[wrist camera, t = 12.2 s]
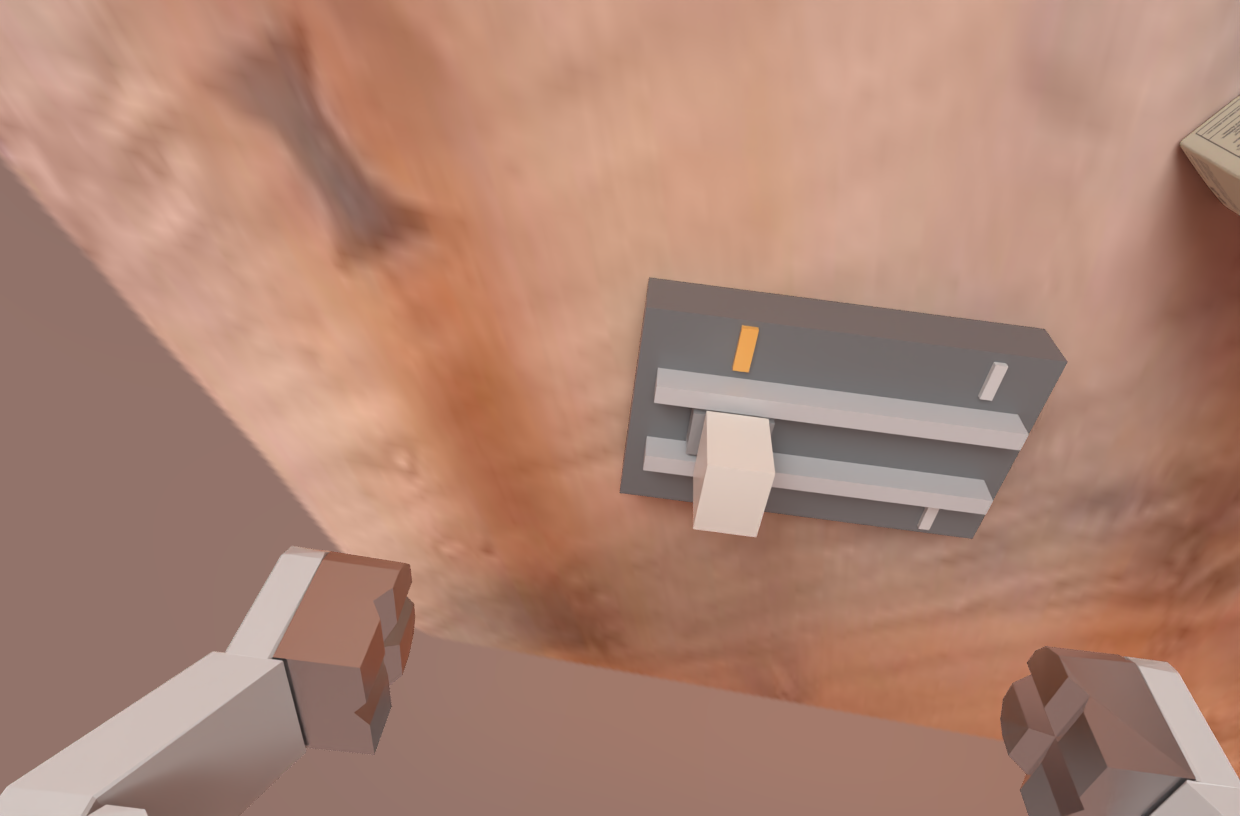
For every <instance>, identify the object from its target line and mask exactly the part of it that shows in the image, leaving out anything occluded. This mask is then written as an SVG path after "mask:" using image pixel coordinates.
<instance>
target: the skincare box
mask: <svg viewBox="0 0 1240 816" xmlns="http://www.w3.org/2000/svg"><path fill="white" fill-rule="evenodd" d="M1180 146H1181V148H1182V150H1183V151H1184V153H1185V154H1186V156H1187V157H1188V159H1189V160H1190V162H1191V163H1192V165H1193V166H1194V167H1195V169H1196V170H1197V172H1198V173H1199V175H1200V176H1201V177H1202V179H1203V180H1204V182H1205V183H1206V184H1207V186H1208V187H1209V188H1210V189H1211V191H1212V192H1213V193H1214V194H1215V196H1216V197H1217V198H1218V199H1219V200H1220V201H1221V203H1222V204H1223V205H1224V206H1226V207H1227V208H1229V209H1230V210H1232V211H1234V212H1235V213H1236V214H1238V215H1239V216H1240V95H1239V96H1238V97H1237V98H1235V99H1234V100H1233V101H1232V102H1230V103H1229V104H1228V105H1227V106H1225V107H1224V108H1223V109H1221V110H1220V111H1219V112H1217V113H1216V114H1215V115H1214V116H1212V117H1211V118H1210V119H1208V120H1207V121H1206V122H1205V123H1203V124H1202V125H1201V126H1200V127H1198V128H1197V129H1196V130H1194V131H1193V132H1192V133H1191V134H1189V135H1188V136H1187V137H1186V138H1184V139H1183V140H1182V141H1181V142H1180Z"/></svg>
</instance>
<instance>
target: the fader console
mask: <svg viewBox="0 0 1240 816" xmlns="http://www.w3.org/2000/svg"><path fill="white" fill-rule="evenodd" d="M1066 364H1067V361H1066V359H1065V358H1064V356H1063V355H1062V353H1061V352H1060V350H1059V349H1058V347H1057V346H1056V345H1055V343H1054V342H1053V340H1052V339H1051V337H1050V336H1049V334H1048V333H1047V332H1046V330H1045V329H1039V328H1032V327H1024V326H1016V325H1009V324H1001V323H993V322H986V321H978V320H970V319H963V318H955V317H947V316H940V315H932V314H924V313H917V312H909V311H901V310H894V309H886V308H878V307H871V306H863V305H855V304H848V303H840V302H832V301H825V300H817V299H809V298H802V297H794V296H786V295H779V294H771V293H763V292H756V291H748V290H740V289H733V288H725V287H717V286H709V285H702V284H694V283H686V282H679V281H671V280H663V279H656V278H649V282H648V289H647V296H646V303H645V311H644V318H643V325H642V332H641V339H640V346H639V353H638V360H637V367H636V375H635V382H634V389H633V396H632V403H631V410H630V417H629V424H628V431H627V438H626V446H625V453H624V460H623V469H622V478H621V486H620V493H625V494H633V495H640V496H648V497H656V498H663V499H671V500H679V501H686V502H693V472H694V467H695V462H696V458H697V455H693V454H686V436H687V431H688V426H689V421H690V416H691V411H692V408H698V409H706V410H713V411H721V412H729V413H736V414H744V415H752V416H759V417H767V418H774V423H775V424H774V428H773V431H772V435H771V443H772V451H773V459H774V468H775V477H774V480H773V483H772V487H771V490H770V493H769V497H768V500H767V503H766V507H765V510H764V512H771V513H778V514H786V515H794V516H801V517H809V518H817V519H824V520H832V521H840V522H847V523H855V524H863V525H871V526H878V527H886V528H894V529H901V530H909V531H917V532H924V533H932V534H940V535H947V536H955V537H963V538H970V539H973V537H974V535H975V533H976V531H977V529H978V527H979V526H980V524H981V522H982V520H983V518H984V516H985V515H986V513H987V511H988V510H989V508H990V506H991V504H992V502H993V500H994V498H995V496H996V494H997V492H998V490H999V488H1000V487H1001V485H1002V483H1003V481H1004V479H1005V477H1006V475H1007V474H1008V472H1009V470H1010V468H1011V466H1012V464H1013V462H1014V461H1015V459H1016V457H1017V455H1018V453H1019V451H1020V450H1021V448H1022V446H1023V445H1024V443H1025V441H1026V439H1027V437H1028V435H1029V433H1030V431H1031V429H1032V427H1033V425H1034V423H1035V422H1036V420H1037V418H1038V416H1039V414H1040V412H1041V410H1042V409H1043V407H1044V405H1045V403H1046V401H1047V399H1048V397H1049V396H1050V394H1051V392H1052V390H1053V388H1054V386H1055V384H1056V383H1057V381H1058V379H1059V377H1060V375H1061V373H1062V371H1063V370H1064V368H1065V366H1066Z"/></svg>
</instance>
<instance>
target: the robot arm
mask: <svg viewBox="0 0 1240 816" xmlns="http://www.w3.org/2000/svg"><path fill="white" fill-rule="evenodd" d="M411 583H412V576H411V569H410V564H407V563H401V562H395V561H388V560H382V559H376V558H370V557H363V556H357V555H351V554H344V553H338V552H332V551H323V550H317V549H310V548H303V547H296V546H291V547H290V548H289V549H288V550H287V551H286V552H284V553H283V554H282V555H281V556H280V558H279V560H278V561H277V563H276V565H275V567H274V568H273V570H272V572H271V574H270V575H269V577H268V579H267V580H266V582H265V584H264V586H263V587H262V589H261V591H260V593H259V594H258V596H257V598H256V600H255V601H254V603H253V605H252V606H251V608H250V610H249V612H248V613H247V615H246V617H245V619H244V621H243V622H242V624H241V626H240V627H239V629H238V631H237V633H236V634H235V636H234V638H233V640H232V641H231V643H230V645H229V646H228V648H227V650H226V652H216V651H213V652H211V653H210V654H208V655H206V656H205V657H203V658H202V659H201V660H199V661H197V662H196V663H194V664H193V665H191V666H190V667H188V668H187V669H185V670H184V671H182V672H181V673H179V674H178V675H176V676H175V677H173V678H172V679H170V680H168V681H167V682H165V683H164V684H162V685H161V686H159V687H158V688H156V689H155V690H153V691H152V692H150V693H149V694H147V695H146V696H144V697H143V698H141V699H140V700H138V701H137V702H135V703H134V704H132V705H131V706H129V707H128V708H126V709H124V710H123V711H121V712H120V713H118V714H117V715H115V716H114V717H112V718H111V719H109V720H108V721H106V722H105V723H103V724H102V725H100V726H99V727H97V728H96V729H94V730H92V731H91V732H90V733H88V734H86V735H85V736H83V737H82V738H80V739H79V740H77V741H76V742H74V743H73V744H71V745H70V746H68V747H67V748H65V749H64V750H62V751H61V752H59V753H57V754H56V755H55V756H53V757H51V758H50V759H48V760H47V761H45V762H44V763H42V764H41V765H39V766H38V767H36V768H35V769H33V770H32V771H30V772H29V773H27V774H26V775H24V776H23V777H21V778H19V779H18V780H16V781H15V782H13V783H12V784H10V785H9V786H7V787H6V789H5V790H4V792H3V793H2V794H1V796H0V816H240V815H241V814H242V813H243V812H244V811H245V810H246V809H247V808H248V807H249V806H250V805H251V804H252V803H253V802H254V801H255V800H256V799H258V798H259V797H260V796H261V795H262V794H263V793H264V792H265V791H266V790H267V789H268V788H269V787H270V786H271V785H272V784H273V783H274V782H275V781H276V780H277V779H279V778H280V777H281V776H282V775H283V774H284V773H285V772H286V771H287V770H288V769H289V768H290V767H291V766H292V765H293V764H294V763H295V762H296V761H297V760H299V759H300V758H301V757H302V756H303V755H304V754H305V753H306V748H315V749H325V750H333V751H343V752H352V753H362V754H372V755H374V754H375V751H376V749H377V746H378V743H379V740H380V737H381V735H382V732H383V729H384V726H385V723H386V721H387V718H388V715H389V712H390V709H391V707H392V706H391V697H390V688H389V685H391V684H392V683H393V682H394V681H396V680H397V679H398V678H399V677H401V676H402V675H403V672H404V669H405V666H406V663H407V660H408V657H409V653H410V649H411V644H412V639H413V634H414V624H415V609H414V603H413V602H412V601H411V600H410V599H409V598H408V597H407V594H408V591H409V589H410V586H411ZM1027 664H1028V667H1029V670H1030V672H1031V675H1029V676H1027V677H1025V678H1023V679H1020V680H1018V681H1016V682H1014V683H1012V685H1011V687H1010V688H1009V690H1008V692H1007V693H1006V695H1005V697H1004V698H1003V704H1002V711H1001V718H1000V720H1001V728H1002V736H1003V739H1004V743H1005V746H1006V749H1007V752H1008V755H1009V756H1010V757H1011V759H1013V760H1014V762H1016V764H1017V765H1018V766H1019V767H1020V768H1021V769H1022V770H1023V771H1024V772H1025V773H1026V776H1025V778H1024V781H1023V783H1022V786H1021V788H1020V792H1021V794H1022V797H1023V800H1024V803H1025V806H1026V809H1027V812H1028V815H1029V816H1240V780H1239V778H1238V776H1237V774H1236V773H1235V771H1234V769H1233V767H1232V766H1231V764H1230V762H1229V760H1228V759H1227V757H1226V755H1225V753H1224V752H1223V750H1222V748H1221V746H1220V745H1219V743H1218V741H1217V739H1216V738H1215V736H1214V734H1213V732H1212V731H1211V729H1210V727H1209V725H1208V724H1207V722H1206V720H1205V718H1204V717H1203V715H1202V713H1201V711H1200V710H1199V708H1198V706H1197V704H1196V703H1195V701H1194V699H1193V697H1192V696H1191V694H1190V692H1189V690H1188V689H1187V687H1186V685H1185V683H1184V681H1183V680H1182V678H1181V676H1180V674H1179V673H1178V672H1177V670H1176V669H1174V668H1173V667H1172V666H1171V665H1170V664H1169V663H1168V662H1162V661H1155V660H1147V659H1140V658H1132V657H1122V656H1120V655H1115V654H1107V653H1098V652H1090V651H1081V650H1073V649H1064V648H1056V647H1048V646H1045V647H1043V648H1041V649H1038V650H1036V651H1035V652H1034V654H1033V655H1032V656H1031V658H1030V659H1029V660H1028V662H1027Z"/></svg>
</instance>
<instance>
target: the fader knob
mask: <svg viewBox="0 0 1240 816" xmlns="http://www.w3.org/2000/svg"><path fill="white" fill-rule="evenodd" d="M774 424H775V423H774V418H767V417H759V416H752V415H744V414H736V413H729V412H721V411H713V410H706V409H698V408H692V411H691V416H690V421H689V426H688V431H687V436H686V454H693V455H697V458H696V462H695V467H694V472H693V529H697V530H704V531H712V532H720V533H727V534H735V535H743V536H750V537H757V533H758V530H759V527H760V523H761V520H762V517H763V513H764V510H765V507H766V503H767V500H768V497H769V493H770V490H771V487H772V483H773V480H774V477H775V468H774V459H773V451H772V443H771V435H772V431H773V428H774Z"/></svg>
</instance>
